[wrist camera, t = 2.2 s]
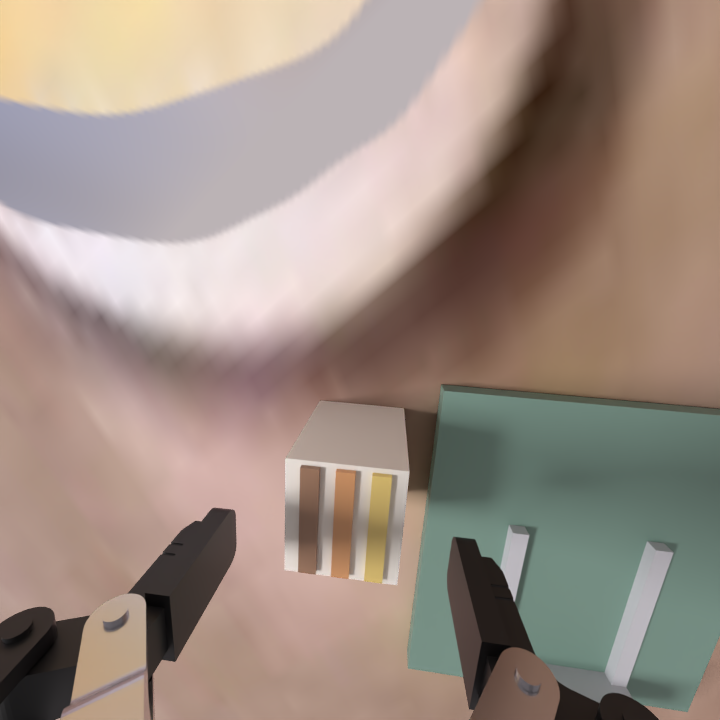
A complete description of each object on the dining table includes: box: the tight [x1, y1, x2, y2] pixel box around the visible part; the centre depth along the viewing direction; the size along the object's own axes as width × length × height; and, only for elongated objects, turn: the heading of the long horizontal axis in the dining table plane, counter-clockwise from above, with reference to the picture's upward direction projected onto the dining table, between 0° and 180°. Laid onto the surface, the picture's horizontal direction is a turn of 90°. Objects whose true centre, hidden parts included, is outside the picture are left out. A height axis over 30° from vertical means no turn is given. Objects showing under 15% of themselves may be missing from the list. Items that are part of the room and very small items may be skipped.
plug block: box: [285, 400, 410, 585], centre depth 15 cm, size 5×4×6 cm
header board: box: [407, 385, 720, 712], centre depth 15 cm, size 18×16×6 cm
